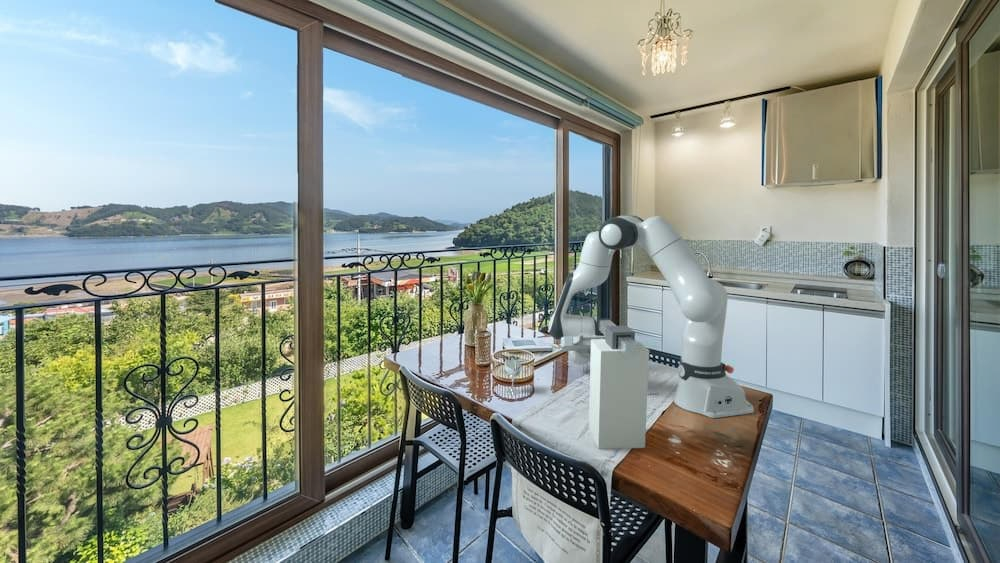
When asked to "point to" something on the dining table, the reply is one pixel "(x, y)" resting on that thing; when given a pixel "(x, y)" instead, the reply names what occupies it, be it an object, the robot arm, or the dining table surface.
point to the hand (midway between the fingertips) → (595, 337)
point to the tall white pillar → (618, 392)
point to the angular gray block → (620, 339)
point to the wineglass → (512, 370)
